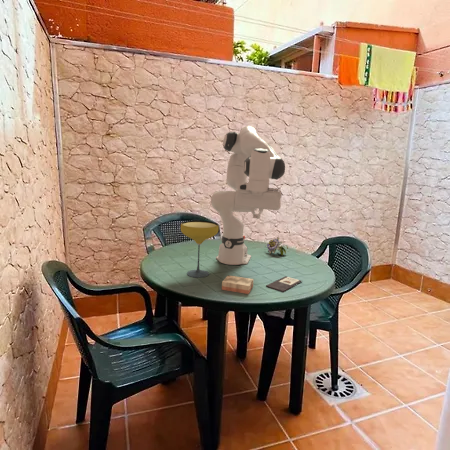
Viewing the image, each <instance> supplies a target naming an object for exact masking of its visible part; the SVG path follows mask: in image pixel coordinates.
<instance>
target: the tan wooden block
mask: <svg viewBox="0 0 450 450" xmlns="http://www.w3.org/2000/svg"><path fill="white" fill-rule="evenodd" d="M254 280H255V279H254V278H249V277H248V278H247V277H242V276H237V275H235V276H234V275H227V276H226V277H225V278H224V279H222V281H221V282H222V283H221V290H223V291H228V292H235V293H241V294H247V295H249V294H250V292H252V289H253V288H254Z"/></svg>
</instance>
